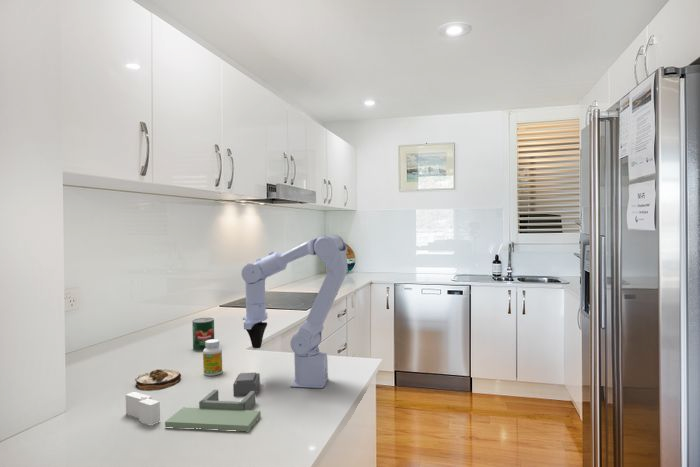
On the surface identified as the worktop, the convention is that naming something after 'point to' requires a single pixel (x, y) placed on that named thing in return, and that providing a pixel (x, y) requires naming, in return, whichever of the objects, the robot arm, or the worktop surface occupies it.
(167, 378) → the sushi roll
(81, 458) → the worktop surface
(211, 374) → the supplement bottle
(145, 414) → the white stepped block
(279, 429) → the worktop surface
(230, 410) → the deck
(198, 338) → the canned tomato
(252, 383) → the dark grey block
